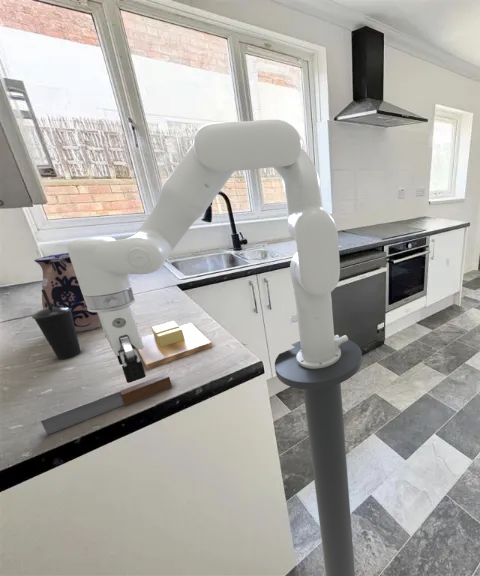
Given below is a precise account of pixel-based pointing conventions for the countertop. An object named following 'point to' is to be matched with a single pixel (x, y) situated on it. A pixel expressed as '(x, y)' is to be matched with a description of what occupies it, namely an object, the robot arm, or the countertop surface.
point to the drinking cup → (58, 329)
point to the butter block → (163, 328)
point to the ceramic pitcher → (66, 290)
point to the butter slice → (170, 337)
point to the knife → (106, 403)
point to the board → (173, 347)
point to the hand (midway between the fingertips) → (132, 370)
